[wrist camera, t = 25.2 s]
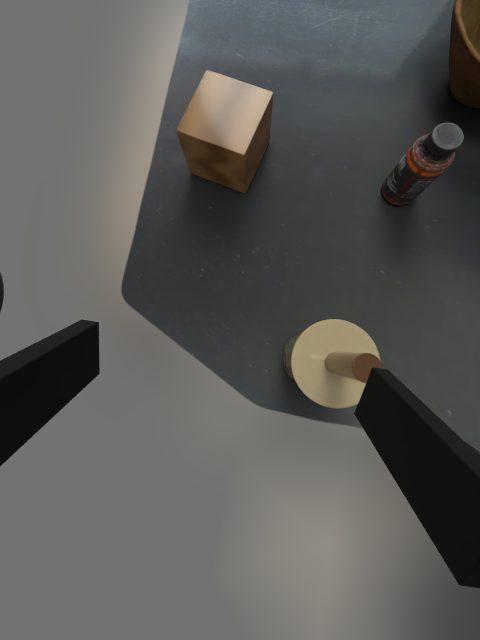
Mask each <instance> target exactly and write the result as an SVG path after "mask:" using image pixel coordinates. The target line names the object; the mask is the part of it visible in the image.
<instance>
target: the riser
mask: <svg viewBox="0 0 480 640" xmlns="http://www.w3.org/2000/svg"><path fill="white" fill-rule="evenodd" d="M273 94H274V92H271V91H268V90H265V89H262V88H259V87H256V86H253V85H251V84H248V83H245V82H242V81H239V80H236V79H233V78H230V77H227V76H224V75H221V74H218V73H215V72H212V71H209V70H206V72H205V74H204V76H203V78H202V80H201V82H200V84H199V86H198V88H197V90H196V92H195V94H194V96H193V98H192V100H191V102H190V104H189V106H188V108H187V110H186V112H185V114H184V116H183V118H182V120H181V122H180V124H179V126H178V128H177V130H176V131H177V134H178V137H179V140H180V143H181V146H182V149H183V152H184V155H185V158H186V161H187V164H188V167H189V170H190V173H191V174H194V175H197V176H199V177H202V178H204V179H207V180H210V181H212V182H215V183H218V184H220V185H223V186H225V187H228V188H231V189H233V190H236V191H239V192H241V193H244V194H246V192H247V190H248V188H249V185H250V183H251V181H252V179H253V177H254V174H255V172H256V170H257V168H258V166H259V163H260V161H261V159H262V157H263V155H264V153H265V150H266V148H267V146H268V144H269V138H270V127H271V116H272V105H273Z"/></svg>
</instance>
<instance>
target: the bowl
mask: <svg viewBox="0 0 480 640" xmlns="http://www.w3.org/2000/svg"><path fill="white" fill-rule="evenodd" d="M449 73H450V86H451V91H452V94H453V96H454V98H455V99H456V100H457V101H459V102H460V103H462V104H464V105H466V106H469V107H472V108H475V109H480V0H455V2H454V6H453V12H452V21H451V34H450V50H449Z"/></svg>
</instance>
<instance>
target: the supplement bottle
mask: <svg viewBox="0 0 480 640" xmlns="http://www.w3.org/2000/svg"><path fill="white" fill-rule="evenodd" d="M463 138H464V135H463V132H462V130H461V129H460V128H459V127H458V126H457V125H455V124H453V123H442V124H440V125H438V126H436V127H435V128H434V130H433V131H432V132H431V133H430V134H426V135H424V136H422V137H420V138H418V139H417V140H416V141H415V142H414V144H413V145H412V146H411V147H410V149H409V150H408V151H407V152H406V154H405V155H404V156H403V158H402V159H401V160H400V161H399V163H398V164H397V165H396V167H395V168H394V169H393V170H392V172H391V173H390V174H389V176H388V177H387V178H386V180H385V181H384V183H383V185H382V194H383V196H384V198H385V199H386V200H387V201H388V202H390V203H391V204H394V205H405V204H408V203H410V202H411V201H412V200H414V199H415V198H416V197H417V196H418V195H419V194H420V193H421V192H422V191H423V190H424V189H425V188H426V187H428V186H429V185H430V184H431V183H432V182H433V181H434V180H435V179H436V178H437V177H438V176H439V175H440V174H441V173H442V172H443V171H444V170H445V169H446V168H448V166H449V165H450V164H451V163H452V161H453V159H454V156H455V150H456V149H457V148H458V147H459V146H460V145H461V144H462V142H463Z"/></svg>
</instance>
